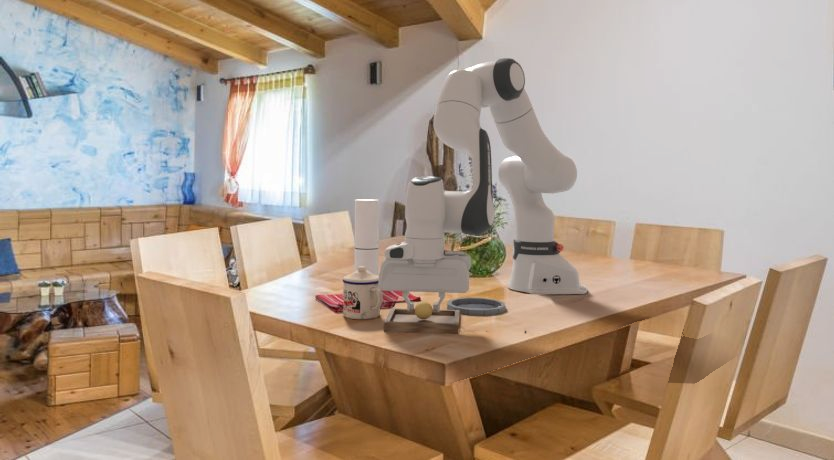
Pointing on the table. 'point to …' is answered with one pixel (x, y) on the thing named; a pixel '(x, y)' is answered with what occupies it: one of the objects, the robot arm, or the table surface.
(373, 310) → the teacup with lid
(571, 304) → the table surface
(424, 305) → the ball
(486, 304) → the dish
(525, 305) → the table surface
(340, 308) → the dish towel
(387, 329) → the tray
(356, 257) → the cylindrical container
